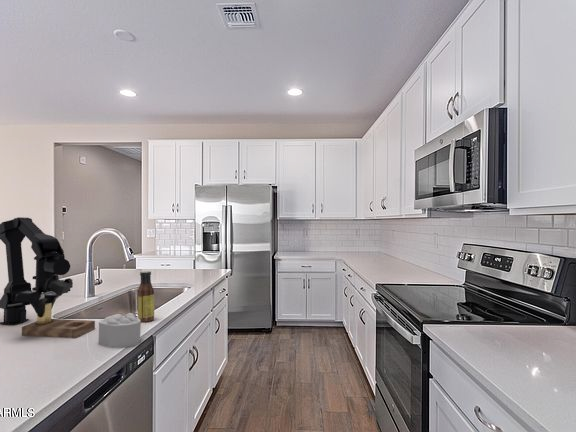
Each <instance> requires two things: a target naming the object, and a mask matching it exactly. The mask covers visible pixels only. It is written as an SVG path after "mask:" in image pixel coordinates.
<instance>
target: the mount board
mask: <svg viewBox="0 0 576 432" xmlns="http://www.w3.org/2000/svg"><path fill="white" fill-rule="evenodd" d="M95 327H96V321H95V320H84V319H62V318H51V323H49V324H46V325H37V320H36V321H35V322H30V323H29V324H25V325H22V326H21V336H24V337H26V336H27V337H29V336H30V337H48V338H66V339H67V338H69V339H77V338H79V337H81V336H83V335H85V334H87V333H89V332H92V331H94V330H95V329H96V328H95Z"/></svg>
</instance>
